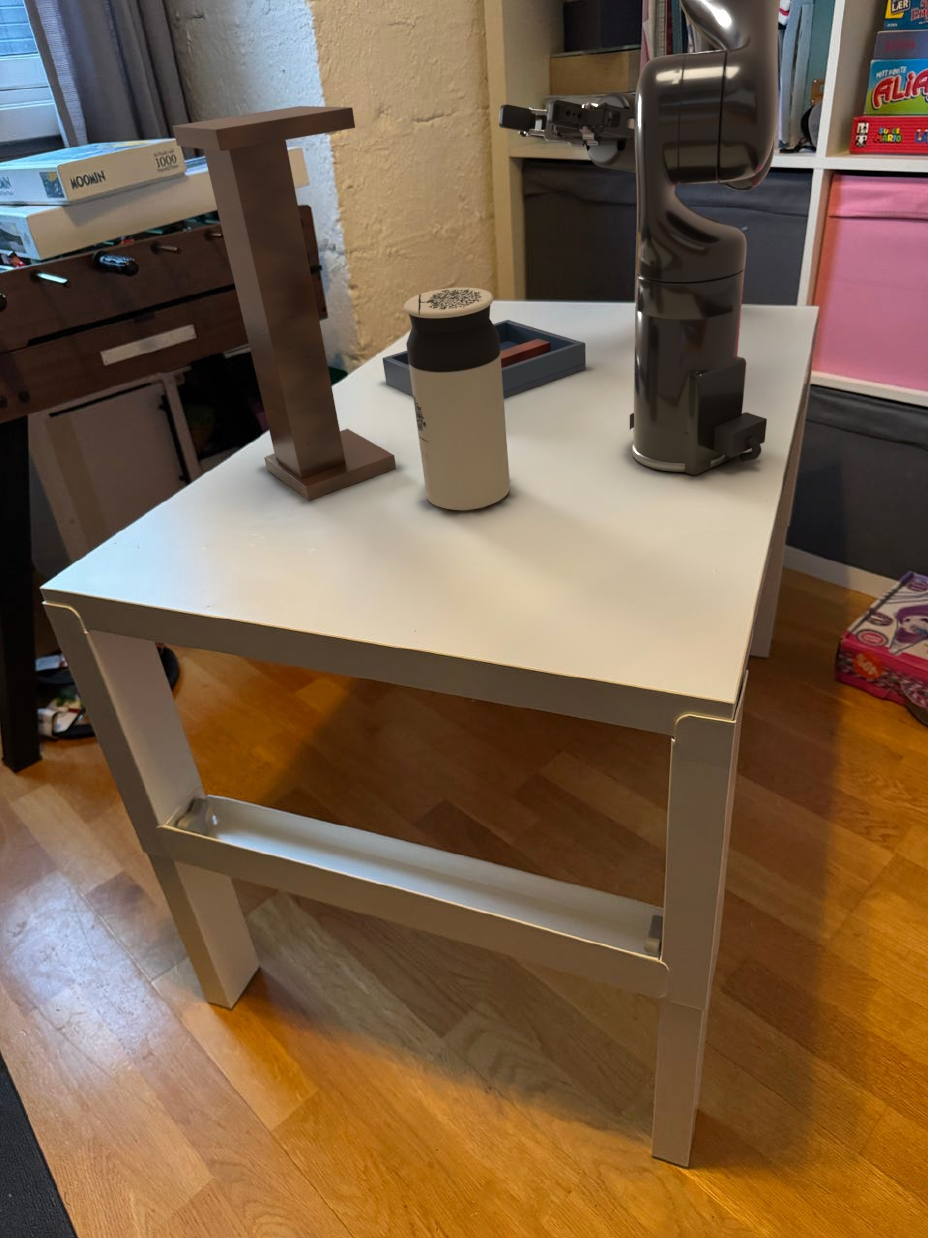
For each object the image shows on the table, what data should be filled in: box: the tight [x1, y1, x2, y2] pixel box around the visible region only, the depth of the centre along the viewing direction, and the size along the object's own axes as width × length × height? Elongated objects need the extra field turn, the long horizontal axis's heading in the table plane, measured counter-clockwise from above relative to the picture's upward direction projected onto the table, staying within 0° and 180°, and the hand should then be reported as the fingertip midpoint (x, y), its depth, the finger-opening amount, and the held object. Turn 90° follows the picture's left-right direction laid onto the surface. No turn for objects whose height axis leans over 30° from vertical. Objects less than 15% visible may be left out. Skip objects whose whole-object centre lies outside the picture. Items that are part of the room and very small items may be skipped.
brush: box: [500, 339, 551, 368], centre depth 107 cm, size 17×6×5 cm, turn 126°
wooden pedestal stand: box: [172, 105, 397, 501], centre depth 82 cm, size 12×10×32 cm
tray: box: [381, 319, 587, 399], centre depth 109 cm, size 16×20×3 cm
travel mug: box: [403, 287, 511, 511], centre depth 78 cm, size 8×8×18 cm
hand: (525, 113), depth 92 cm, fingers open, 8 cm apart
